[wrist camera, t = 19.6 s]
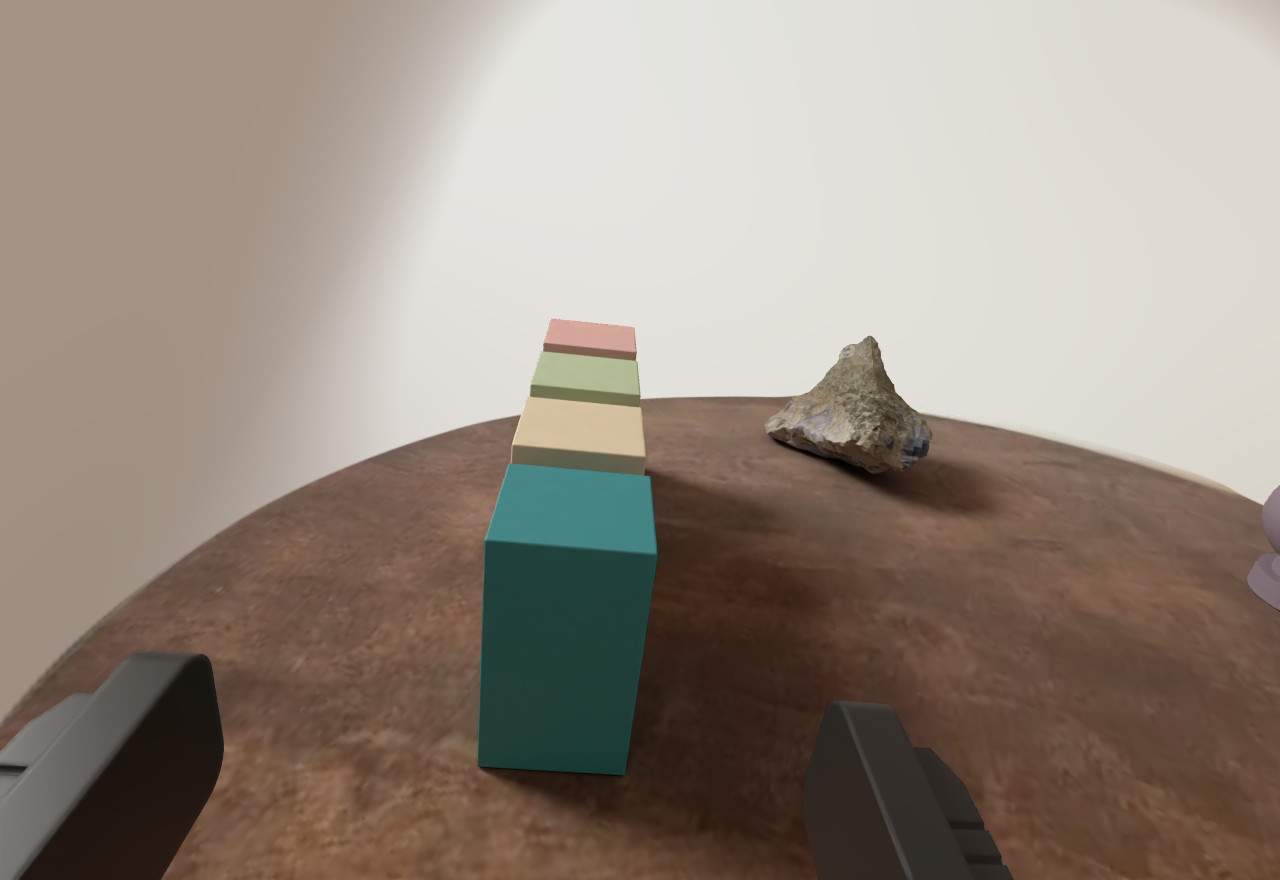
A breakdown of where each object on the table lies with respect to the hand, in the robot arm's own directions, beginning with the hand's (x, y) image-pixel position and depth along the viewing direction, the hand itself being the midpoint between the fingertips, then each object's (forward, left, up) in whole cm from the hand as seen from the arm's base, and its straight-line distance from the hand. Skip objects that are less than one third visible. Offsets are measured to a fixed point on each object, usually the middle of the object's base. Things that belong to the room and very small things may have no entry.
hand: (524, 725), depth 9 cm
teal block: (+6, +11, -13) cm, 18 cm away
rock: (+33, +27, -13) cm, 44 cm away
